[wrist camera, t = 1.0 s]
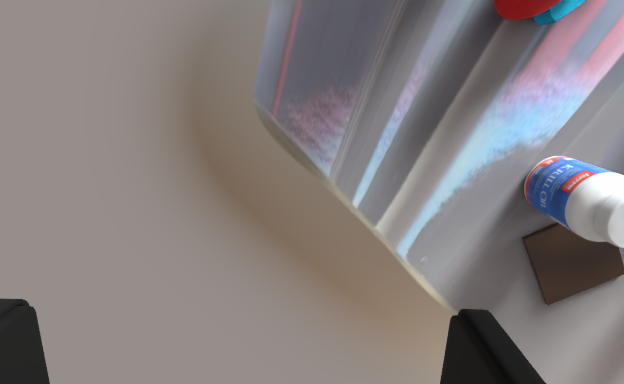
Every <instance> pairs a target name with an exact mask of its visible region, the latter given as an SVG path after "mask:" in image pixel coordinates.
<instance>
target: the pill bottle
mask: <svg viewBox="0 0 624 384" xmlns="http://www.w3.org/2000/svg"><path fill="white" fill-rule="evenodd" d="M524 194H525V197H526V199H527V201H528V202H529V204H530V205H531V206H532V207H533V208H535V209H536V210H538V211H539V212H541V213H543V214H544V215H546V216H548V217H549V218H551V219H553V220H554V221H556V222H557V223H559V224H561V225H562V226H564V227H566V228H567V229H569V230H571V231H572V232H574V233H575V234H577V235H579V236H581V237H583V238H585V239H587V240H590V241H595V242H609V243H611V244H613V245H615V246H617V247H619V248H622V249H624V176H623V175H621V174H618V173H615V172H612V171H609V170H606V169H603V168H600V167H597V166H594V165H590V164H587V163H584V162H581V161H578V160H575V159H572V158H569V157H564V156H554V157H550V158H547V159H544V160H542V161H541V162H539V163H538V164H537V165H535V166H534V167H533V168H532V170H531V171H530V172H529V174H528V175H527V177H526V180H525V184H524Z"/></svg>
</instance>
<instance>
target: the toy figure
mask: <svg viewBox="0 0 624 384" xmlns="http://www.w3.org/2000/svg"><path fill="white" fill-rule="evenodd" d="M585 1H586V0H494V6H495V9H496V11H497V13H498V14H499V15H500V16H501V17H503V18H505V19H509V20H522V19H527V18H531V17H534V20H535V22H536V23H537V24H538V25H539V26H540V25H545V24H549V23H553V22H557V21H558V20H559V19H561V18H562V17H564V16H565V15H566V14H568V13H569V12H571V11H572V10H573V9H575V8H576V7H578V6H579V5H581V4H582V3H583V2H585Z"/></svg>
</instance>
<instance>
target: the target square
mask: <svg viewBox="0 0 624 384" xmlns="http://www.w3.org/2000/svg"><path fill="white" fill-rule="evenodd" d="M522 239H523V241H524V244H525V247H526V250H527V253H528V255H529V258H530V261H531V264H532V267H533V270H534V272H535V275H536V278H537V281H538V284H539V286H540V289H541V292H542V295H543V298H544V300H545V303H546V304H547V305H550V304H553V303H555V302H557V301H560V300H562V299H565V298H567V297H570V296H572V295H575V294H577V293H579V292H582V291H584V290H587V289H589V288H592V287H594V286H596V285H599V284H601V283H604V282H606V281H609V280H611V279H614V278H616V277H618V276H621V275H623V274H624V265H623V262H622V258H621V254H620V251H619V247H617V246H615V245H613V244H611V243H609V242H595V241H590V240H587V239H585V238H583V237H581V236H579V235H577V234H575V233H574V232H572V231H571V230H569V229H567V228H566V227H564V226H562V225H561V224H559V223H556V224H554V225H552V226H549V227H547V228H545V229H542V230H540V231H538V232H535V233H533V234H531V235H529V236H526V237H524V238H522Z"/></svg>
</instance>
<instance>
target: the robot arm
mask: <svg viewBox="0 0 624 384" xmlns="http://www.w3.org/2000/svg"><path fill="white" fill-rule="evenodd" d="M0 384H50V383H49V378H48V372H47V367H46V362H45V357H44V352H43V346H42V342H41V336H40V331H39V325H38V320H37V315H36V311H35V309H34V308H33V307H31V306H29V304H28V302H27V301H26V300H23V299H0ZM440 384H546V383H545V382H544V381H543V379H542V378H541V377H540V376H539V374H538V373H537V372H536V370H535V369H534V368H533V367H532V365H531V364H530V363H529V361H528V360H527V359H526V358H525V356H524V355H523V354H522V352H521V351H520V350H519V349H518V347H517V346H516V345H515V343H514V342H513V341H512V340H511V338H510V337H509V336H508V334H507V333H506V332H505V331H504V329H503V328H502V327H501V325H500V324H499V323H498V322H497V320H496V319H495V318H494V316H493V315H492V314H491V313H490V312H489V311H488V310H483V309H461V310H460V311H459V313H458V315H454V316H452V317H451V320H450V325H449V331H448V338H447V344H446V350H445V356H444V363H443V369H442V375H441V381H440Z"/></svg>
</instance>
